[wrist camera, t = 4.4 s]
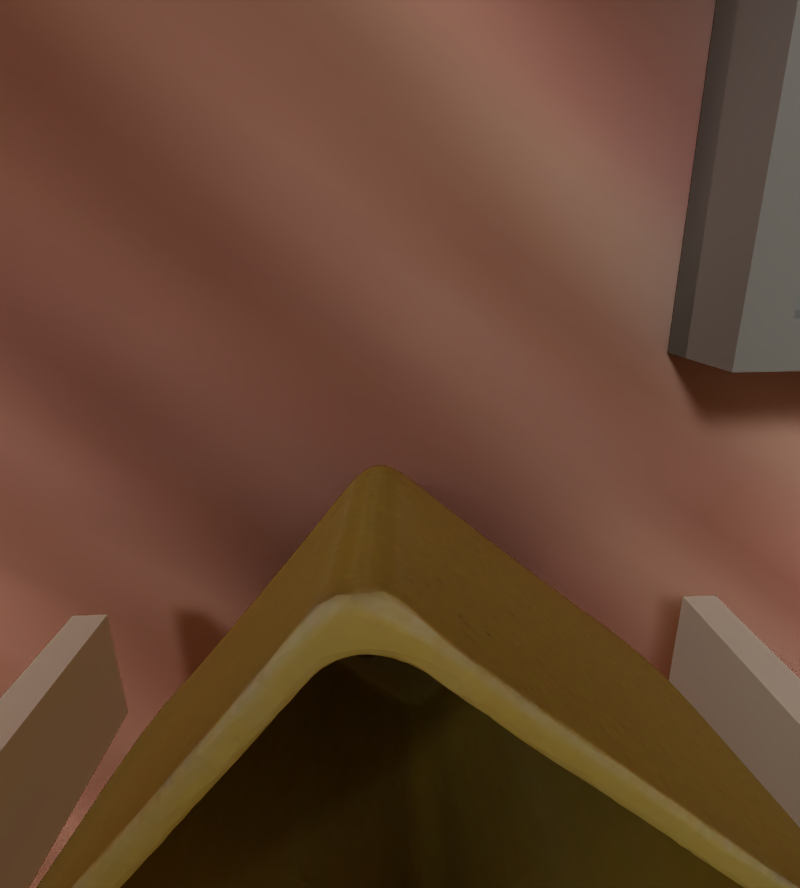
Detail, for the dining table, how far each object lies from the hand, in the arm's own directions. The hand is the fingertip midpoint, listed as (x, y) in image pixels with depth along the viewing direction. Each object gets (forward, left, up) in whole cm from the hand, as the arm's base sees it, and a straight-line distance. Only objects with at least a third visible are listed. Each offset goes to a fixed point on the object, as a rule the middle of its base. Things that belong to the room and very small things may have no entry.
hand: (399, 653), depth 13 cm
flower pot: (0, 0, -2) cm, 2 cm away
